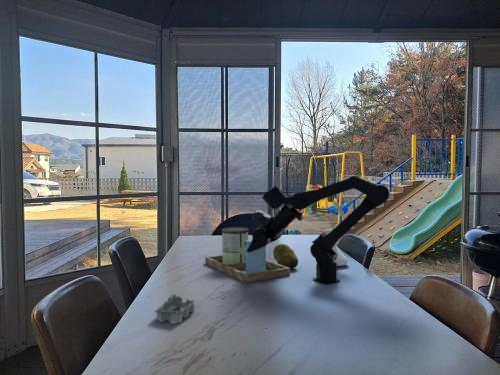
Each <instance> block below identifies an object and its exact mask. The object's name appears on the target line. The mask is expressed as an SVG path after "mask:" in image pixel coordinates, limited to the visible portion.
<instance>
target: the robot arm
mask: <svg viewBox="0 0 500 375" xmlns="http://www.w3.org/2000/svg"><path fill="white" fill-rule="evenodd" d="M353 189H354V190H356V191H358V192H360V193H362V194H363V195H366V196H365V197H364V198H363V200H362V201H361V202H360V204H359V205H357V207H356V208H355V209H353V210H352V211H351V212H350V213H349V214H347V216H345V217H344V218H343V220H341V222H339V224H337V226H335V227H333V228H332V229H333V230H332V231H331V232H330V233H329V232H328V233H326V232H325V231H322V232H321V233H320V234H319V235H318V236H317V238H315V239H314V240H312V241H311V243H312V244H311V246H310V248H309V249H310V254H311V255H312V257H313V258H314V259H315V262H316V265H315V268H316V269H315V277H312V278H313V281H316V282H319V283H322V284H325V285H328V284H329V285H330V284H333V283H339V282H341V280H340V279H339V278H337V277H338V276H337V275H338V274H337V271H338V268H337V267H338V266H337V263H335V262H334V261H335V260H336V258H337V253H336V252H335V251H334V250H333V249H332V248H333V247H334V246H335V244H336V245H337V243H338V241H339V240H340V239H341V238H342V237H343V236H344V235H346V234H347V233H348V232H350V230H351V229H352V228H353V227H354V226H356V224H358V223H359V222H360V221H361V220H362V219H363V218H364V217H365V216H366V215H367V214H368V213H369V212H371V211H373V210H375V209H376V208H378V207H379V206H381V205H383V204H384V203H386V202H387V201H388V200H389V197H390V195H391V191H390V189H389V187H388V186H387V185H385V184H375V183H372V182H371V181H368V180H366V179H363V178H361V177H360V176H358V175H351V176H350V177H349V178H346V179H343V180H340V181H337V182H333V183H331V184H328V185H326V186H323V187H320V188H317V189H312V190H305V191H298V192H296V193H294V194H293V195H286V194H285V193H284V192H283V191H282V190H281V189H280V187H279V186H278V185H274V186H273V187H272V188H271V189H270V190H268V191H266V192H265V193H264V194H263V196H262V197H261V198H262V200H263V201H264V202H265V203H266V205H268V206H269V208H271V210H273V211H274V210H276V211H278V210H279V211H278V212H276V213H275V214H274V215H272V216H271V215H270V214H268V212H264V211H263V210H261V209H259V210H258V209H257V210H255V212H254V213H253V214H252V218H251V219H252V220H253V221H255V222H257V223H259V224H261V227H257V228H255V229H254V230H253V231H252V232H251V236H252V237H253V240H252V242H251V244H250V245H249V247H248V249H247V252H248V253H250V252H252V251H255V250H257V249H260V248H262V247H265V246H266V247H267V246H268V245H269V244H270V243H273V242H275V241H277V240H279V239H280V238H281V237H282V236H283V235H284V230H286V229H288V226H289V225H290V224H292V222H294V221H295V219H297V220H298V221H299V222H300V221H302V220H304V212H303V211H301V212H300V210H304V209H307V208H309V207H311V206H313V205H314V204H316V203H318V202H320V201H321V200H324V199H326V198H330V197H332V196H333V197H334V196H335V195H336V196H337V194H341V193H344V192H348V191H350V190H353ZM252 237H251V238H252Z"/></svg>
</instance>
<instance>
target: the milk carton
mask: <svg viewBox="0 0 500 375" xmlns="http://www.w3.org/2000/svg"><path fill="white" fill-rule="evenodd" d="M252 240H253V237H251V238H250V239H249V238H248V240H247V241H246V269H245V274H252V273H258V272H264V271H267V267H266V260H267V245H266V246H265V247H262V248H260V249H257V250H255V251H252V252H250V253H248V252H247V249H248V247H249V245H250V244H251V242H252Z"/></svg>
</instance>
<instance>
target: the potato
mask: <svg viewBox="0 0 500 375" xmlns="http://www.w3.org/2000/svg"><path fill="white" fill-rule="evenodd" d="M272 252H273V258H274V259H275V261H276V263H277V264H280V265H283V266H286V267H288V268H290V270H293V269H295V268H296V267H298V264H299V259H298V256H297V255H296V253H295V250H293V249H292V248H291V247H290V246H289V245H287V244H286V243H279V244H277V245H276V246H275V247H274V248H273V251H272Z"/></svg>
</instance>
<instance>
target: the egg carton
mask: <svg viewBox="0 0 500 375" xmlns="http://www.w3.org/2000/svg"><path fill="white" fill-rule="evenodd" d="M196 302H197V300H194V299H191V300H190V299H188V298H187V299H186V301H184V300H183V298H182V297H181V296H177V295H176V293H173V294H172V295H171V296H169V297H168V298H167V301H164V302H163V304H161V306H159V307H158V308H157V309H156V310H154V311H153V312H154V313H155V314H156V319H157V318H158V320H159V321H162V320H170V321H169V323H170V322H177V321H182V322H183V318H182V317H185V316H186V317H187V316H188V315H189V316H190V313H189V312H194V311H195V312H196V310H195V309H196V308H195V306H196V305H195V303H196ZM177 307H181V308H179V310H178V308H177ZM195 312H194V313H195ZM187 318H188V317H187ZM158 320H157V321H158Z"/></svg>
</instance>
